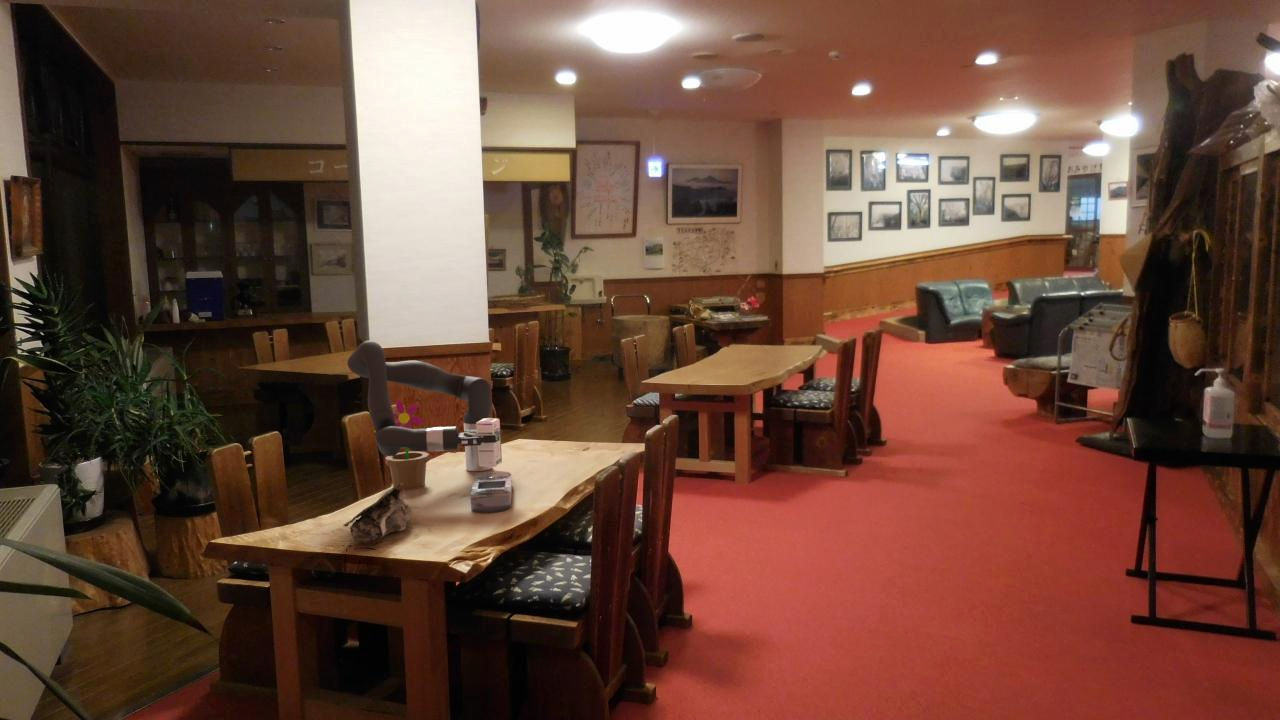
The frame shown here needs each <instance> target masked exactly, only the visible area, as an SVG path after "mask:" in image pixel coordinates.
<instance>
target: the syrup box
mask: <svg viewBox="0 0 1280 720" xmlns="http://www.w3.org/2000/svg"><path fill="white" fill-rule="evenodd" d="M500 421H501V420H500V418H498V417H497V418H495V417H490V418H485V419H484V418H483V419H482V420H480V421H478V422H476V425H477V435H482V436H483V437H484V436H487V435H495V436H496V442H495V443H484V442H483V444H481V445H478V458H479V466H481V467H492V468H495V467H497V466H499V465H500V464H502V463H503V455H502V439H501V424H500V423H501V422H500Z"/></svg>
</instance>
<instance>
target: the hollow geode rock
mask: <svg viewBox="0 0 1280 720" xmlns="http://www.w3.org/2000/svg"><path fill="white" fill-rule="evenodd" d="M401 485H403V483H401V484H400V485H398V486H397V487H395V488H394V487H393V488H392V489H391V490H390V491H388V492H387V493H385V494H384V495H382V496H381V497H380V498H379V499H378V500H376V501H375V502H374V503H371V505H369V506H367V507H366V508H364V509H362V510H361V511H360V512H359V513H358V514H356V515H355V516H353V518H352V519H351V520H349V521H348V522H346V523H345V524H343V527H345V528H346V527H348V526H349V524H351V526H350V527H349V529H350V535H351V536H352V538H353V539H354V540H355V541H357V542H359V543H361V544H365V545H366V546H373V545H375V544H376V543H377V542H378V541H381V539H383V537H386V536H387V535H389V534H390V533H394V532H401V531H403V530H404V531H405V529H406V528H407V523H408V521H409V520H410V519H411V517H412V515H413V511H412V508H411V506H410V505H409V504H407V503H406V501H404V499H405V497H406V494H407V493H406V491H405V490H399V489H397V488H398V487H399V486H401Z"/></svg>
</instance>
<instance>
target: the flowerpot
mask: <svg viewBox="0 0 1280 720" xmlns="http://www.w3.org/2000/svg"><path fill="white" fill-rule="evenodd" d="M404 405H405V404H404V403H403V402H402V401H401V400H399V399H398V400H397V399H396V404H395V408H396V410H397V412H398V413H399V414H398V413H397V412H393V413H394V419H395V424H396V427H402V424H403V428H409V429H413V428H412V425H411V424H414V425H421V424H424V419H422V418H421V417H418V416H411V417H410V415H413V414H414V413H415V412H416V411H417V410H418V407H419V404H418V403H416V402H415V403H413V404H411V405H410V406H409V407H408V408H407V409H406V408H405V406H404ZM405 409H406V412H405ZM396 420H398V421H396ZM409 422H410V423H411V424H410V423H409ZM402 449H405V451H403V452H398V453H397V454H396V455H394V456H386V457H384V459H385V461H384V462H385V465H386V466H387V467H389V472H390V477H391V481H392V486H393V488H395V487H397V486H398V485H400V484H401V483H403V485H401V486H399V487H398V488H397V489H398V490H403V491H405V490H407V491H408V490H415V489H419V488H422V487H424V486H425V485H426V471H427V463H428V462H429V461H430V454H429V452H428V451H409V448H406V447H401V449H400V450H402Z"/></svg>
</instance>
